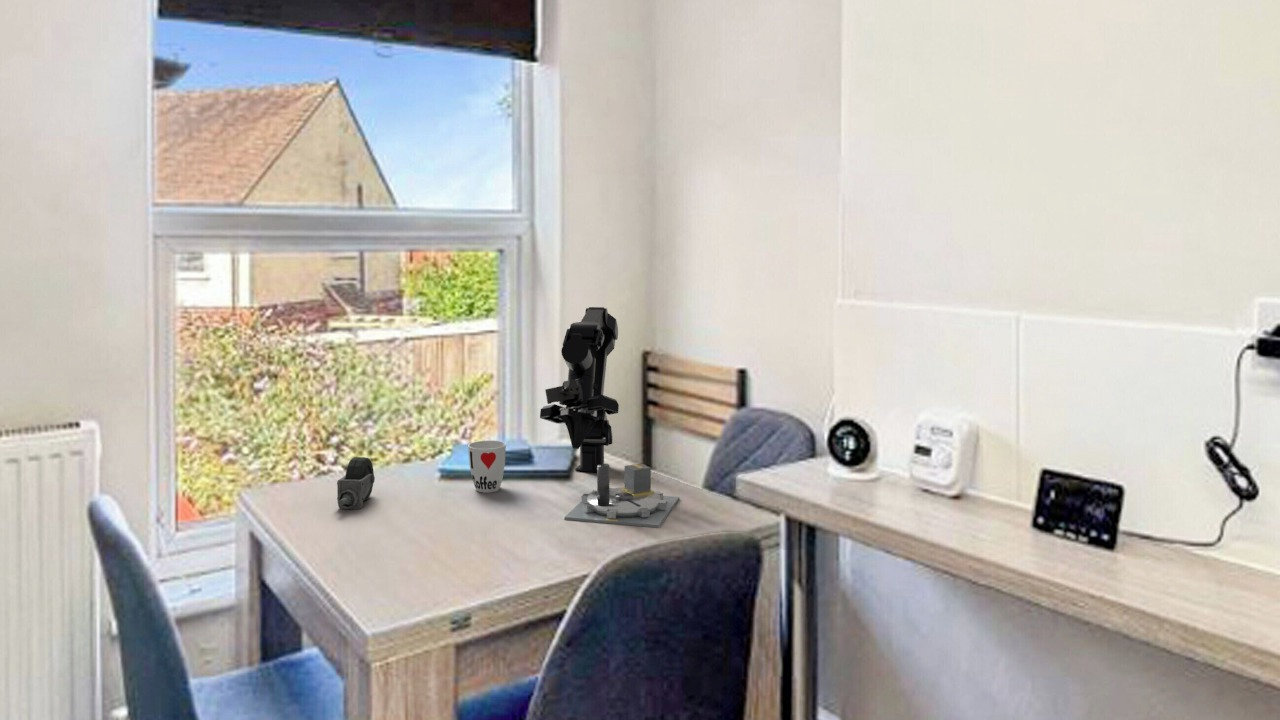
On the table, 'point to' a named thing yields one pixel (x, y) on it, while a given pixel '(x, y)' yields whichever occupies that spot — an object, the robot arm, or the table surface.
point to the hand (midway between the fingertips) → (575, 448)
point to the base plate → (650, 521)
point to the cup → (487, 464)
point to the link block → (637, 478)
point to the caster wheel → (355, 483)
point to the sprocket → (620, 499)
